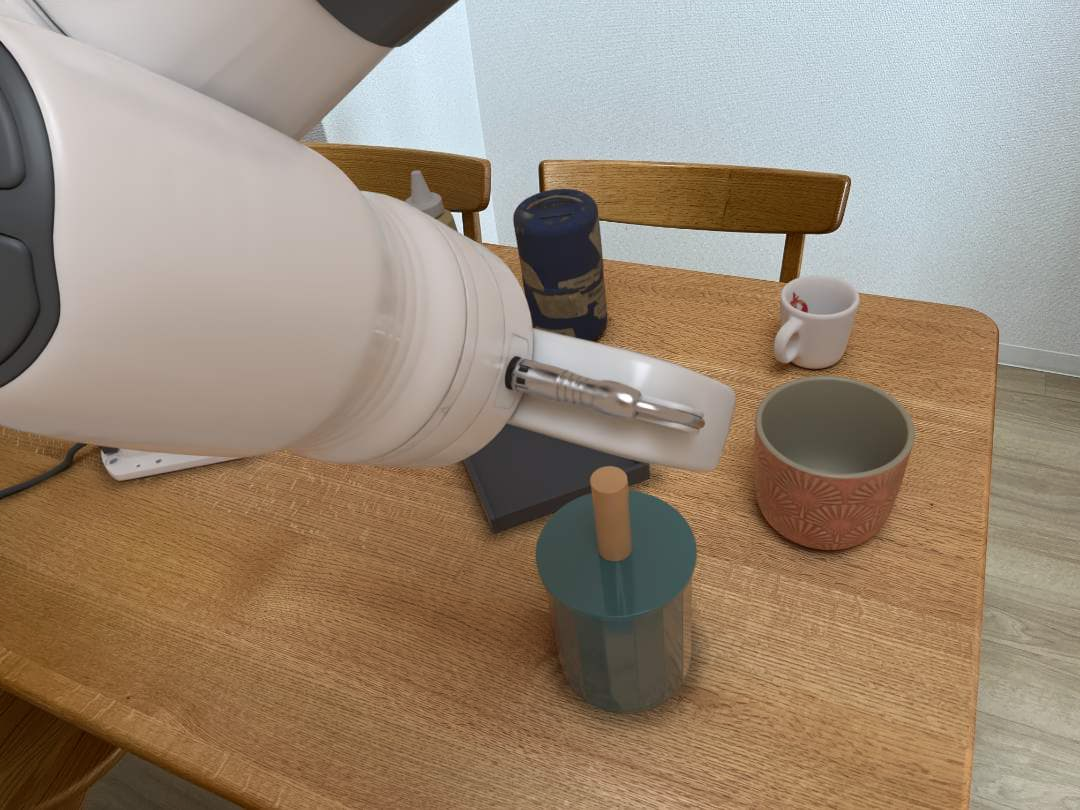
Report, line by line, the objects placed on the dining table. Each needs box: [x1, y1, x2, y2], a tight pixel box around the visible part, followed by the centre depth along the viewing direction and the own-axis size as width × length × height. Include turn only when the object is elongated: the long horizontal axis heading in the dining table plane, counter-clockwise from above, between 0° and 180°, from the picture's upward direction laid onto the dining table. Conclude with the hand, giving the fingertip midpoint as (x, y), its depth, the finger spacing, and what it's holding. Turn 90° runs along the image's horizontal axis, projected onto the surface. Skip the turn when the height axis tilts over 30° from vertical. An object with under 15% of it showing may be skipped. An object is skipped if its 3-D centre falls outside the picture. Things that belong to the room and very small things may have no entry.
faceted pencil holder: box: [545, 578, 693, 714], centre depth 61 cm, size 10×10×13 cm
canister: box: [512, 188, 608, 342], centre depth 93 cm, size 10×10×18 cm
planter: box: [753, 375, 916, 551], centre depth 70 cm, size 12×12×11 cm
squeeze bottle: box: [404, 169, 459, 232], centre depth 102 cm, size 8×8×18 cm
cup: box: [773, 274, 861, 370], centre depth 87 cm, size 11×8×8 cm
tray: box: [462, 423, 651, 535], centre depth 82 cm, size 16×15×2 cm
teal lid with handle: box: [535, 466, 698, 622], centre depth 54 cm, size 11×11×8 cm
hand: (562, 390), depth 41 cm, fingers open, 8 cm apart
